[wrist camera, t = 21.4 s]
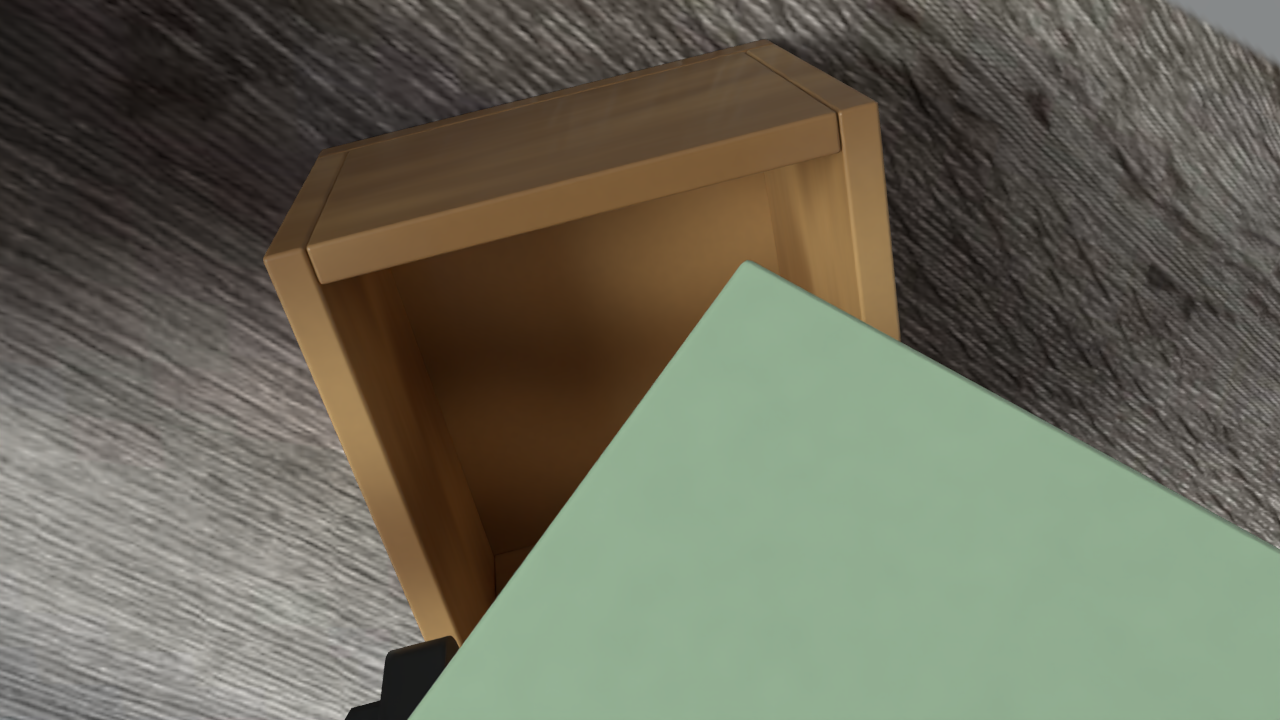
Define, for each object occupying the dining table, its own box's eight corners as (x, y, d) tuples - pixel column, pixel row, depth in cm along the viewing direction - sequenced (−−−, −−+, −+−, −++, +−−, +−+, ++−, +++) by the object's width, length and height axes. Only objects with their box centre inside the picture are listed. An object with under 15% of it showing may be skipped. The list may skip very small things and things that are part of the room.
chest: (320, 149, 24) (260, 258, 17) (766, 37, 25) (879, 101, 18) (475, 565, 31) (476, 765, 24) (829, 470, 31) (931, 639, 24)
